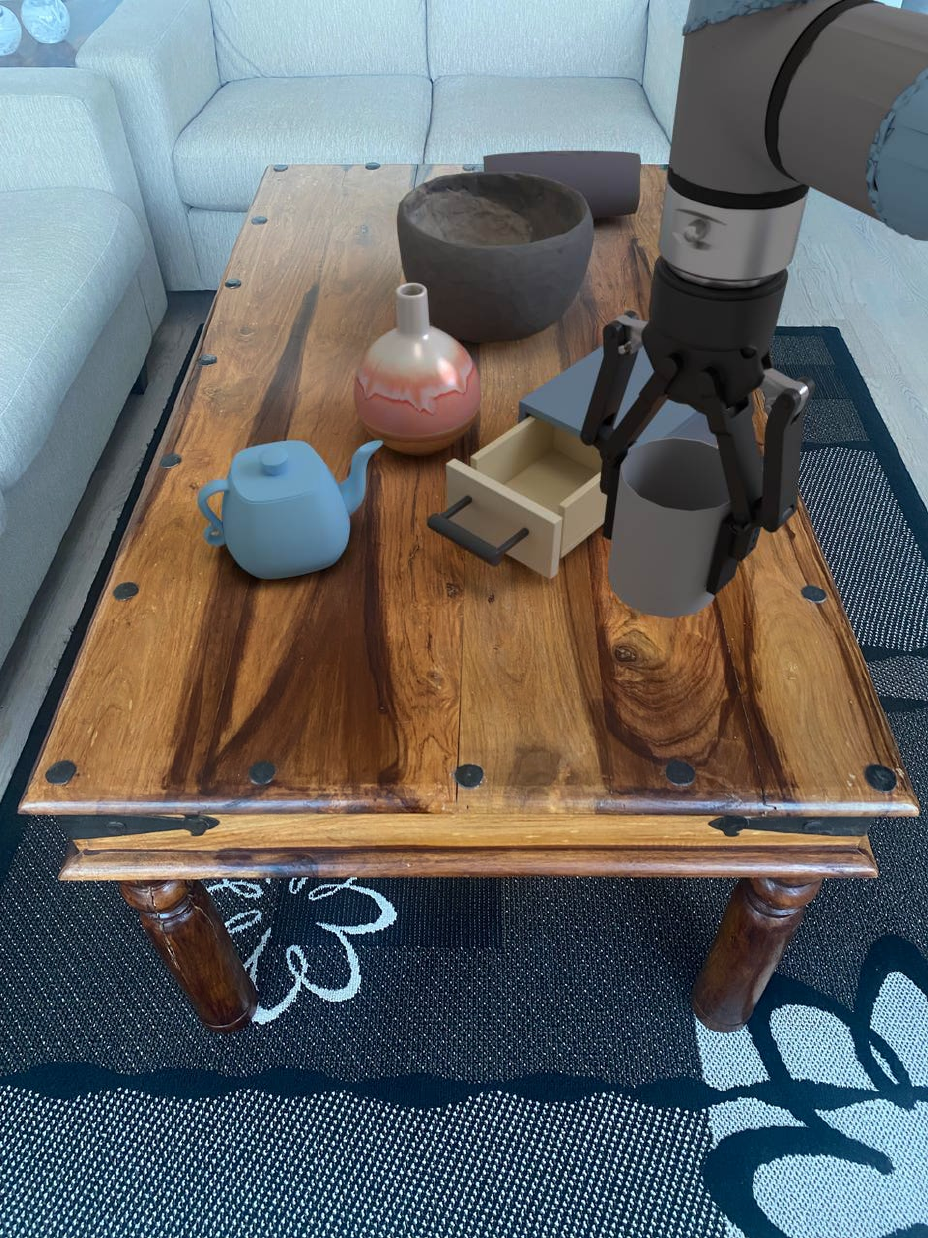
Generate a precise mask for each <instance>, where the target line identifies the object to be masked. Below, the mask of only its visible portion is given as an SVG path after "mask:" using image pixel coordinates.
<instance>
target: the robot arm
mask: <svg viewBox="0 0 928 1238" xmlns="http://www.w3.org/2000/svg"><path fill="white" fill-rule="evenodd" d="M687 11H688V12H687V15H686V20H685V23H684V24H683V25H682V29H681V30H682V31H681V32H682V33H681V36H682V37H684V38H683V45H682V51H681V61H680V69H679V75H678V76H679V77H678V85H677V92H676V101H675V108H674V109H675V110H674V116H673V117H674V118H673V125H672V133H671V141H670V149H669V158H668V166H667V174H666V179H665V187H664V195H663V203H662V210H661V218H660V227H659V234H658V240H657V250H658V253H659V256H657V258H656V260H655V262H654V266H653V273H652V281H651V288H650V296H649V302H648V318H649V320H648V321H647V320H641V319H640V316H639V315H638V313H637V312H636V311H634V310H632V309H631V310H627V311H626V312H623V314H621V315H619V316H618V317H616V318H614V319H613V320H611V321H610V322H608V323H607V324H606V325H604V327H603V328H602V345H603V352H604V357H603V360H602V363H601V366H600V370H599V373H598V376H597V380H596V383H595V386H594V390H593V393H592V396H591V400H590V403H589V406H588V410H587V413H586V416H585V420H584V423H583V426H582V430H581V433H580V439H581V441H582V443H584V444H585V445H587V446H591V445H593V446H594V447H596V448H597V449H598V450H599V452H600V457H601V459H602V468H601V477H600V479H601V480H600V490H601V493H603V494H605V495H607V502H606V510H605V519H604V523H603V529H602V538H605V539H607V540H609V541H610V542H611V539H612V531H613V523H614V515H615V507H616V499H617V491H618V484H619V476H620V468H621V464H622V463H623V461H624V459H625V458H626V456H627V454H628V449H629V448H630V447H632V446H633V445H634V444H635V443H637V442H638V441H636V440H637V439H638V438H639V436H640V435H641V434H642V432H643V431H644V430H645V428H646V427H647V426H648V424H649V423H650V422H651V421H652V419H653V418H654V417H655V415H656V414H657V413H658V411H659V410H660V409H661V407H662V406H663V405H664V404H665V402H666V401H667V400H668V399H669V400H671V401H673V402H676V403H680V404H687V405H689V406H690V407H692V408H693V409H695V410H696V411H697V412H699V413H701V414H704V415H706V417H707V422H708V426H709V430H710V432H711V433H712V434H715V436H716V439H717V444H718V445H717V447H718V448H719V453H720V457H721V461H722V466H723V470H724V475H725V479H726V484H727V488H728V493H729V497H730V502H731V506H732V510H733V512H732V513H731V514H730V515H729V516H728V517H726V518H725V519H724V520H723V521H722V525H721V529H720V533H719V537H718V541H717V546H716V550H715V554H714V558H713V563H712V567H711V571H710V575H709V579H708V584H707V588H706V592H708V593H710V594H712V595H714V596H715V597H716V596H717V595H718V594H719V593H720V591H722V590H723V588H725V587H726V586H727V584H729V583H730V582H731V581H732V579H734V578H735V576H736V573H737V569H738V565H739V563H742V562H743V561H744V560H745V559H746V558H747V557H748V556H749V555H750V554H751V553H752V552H753V551H754V550H755V549H756V547H757V545H758V544H757V543H758V540H759V537H760V533H761V530H762V529H763V530H764V531H766V532H768V533H771V534H773V533H776V532H778V531H779V529H780V528H782V526H784V524H786V523H787V521H789V520H790V519H791V518H792V516H793V515H794V514H795V513H797V510H798V499H799V485H800V484H799V483H800V470H801V455H802V439H803V427H804V413H805V411H806V409H807V407H808V405H809V403H810V401H811V399H812V396H813V394H814V392H815V390H816V383H815V381H814V380H813V379H812V378H811V377H809V376H806V375H805V376H804V375H803V376H800V377H798V378H797V379H796V380H794V379H792V378H790V377H789V376H787V375H785V374H783V373H782V372H780V371H778V370H776V369H775V368H774V361H773V358H772V354H771V346H772V345H771V344H772V341H773V338H774V335H775V332H776V328H777V326H778V325H777V324H778V320H779V317H780V314H781V313H780V312H781V308H782V305H783V301H784V297H785V293H786V288H787V284H788V281H789V271H788V269H787V268H788V266H790V265H791V264H792V262H793V260H794V257H795V254H796V249H797V245H798V241H799V236H800V232H801V226H802V222H803V217H804V213H805V209H806V204H807V200H808V195H809V191H810V189H813V190H815V191H818V192H819V193H822V194H824V195H826V196H828V197H830V198H831V199H834V200H836V201H838V202H840V203H842V204H844V205H846V206H848V207H850V208H851V209H854V210H856V211H858V212H861V214H864V215H866V216H869V217H871V218H872V219H874V220H877V221H879V222H880V223H882V224H884V225H885V226H886V227H887V228H889V229H891V230H893V231H894V232H895V233H897V234H899V235H900V236H908V237H909V238H911V239H913V240H915V241H922V242H928V14H927V13H923V12H919V11H913V10H910V9H905V8H901V7H896V6H893V5H888V4H885V3H884V2H882V1H878V0H689V5H688V10H687ZM642 346H643V347H644V349H645V351H646V354H647V356H648V359H649V361H650V363H651V366H652V368H653V370H654V373H653V374H652V376H651V377H650V378H649V380H648V381H647V383H646V384H645V385H644V387H643V388H642V390H641V391H640V392H639V394H638V395H639V397H638V398H637V399H636V401H635V402H634V404H633V405H632V406H631V408H630V409H629V411H628V412H627V413H626V415H625V416H624V418H623V419H622V420H621V422H620V423H619V425H618V426H617V427H616V429H614V428H613V427H614V424H615V421H616V418H617V415H618V412H619V409H620V406H621V403H622V400H623V397H624V394H625V391H626V388H627V385H628V382H629V379H630V376H631V373H632V370H633V367H634V364H635V361H636V358H637V355H638V351H639V349H640V348H642ZM757 389H760V390H761V391H762V393H763V395H764V406H763V408H762V409H763V412H764V413H765V414H766V415H768V416H767V419H766V423H765V427H764V441H763V442H764V443H763V444H764V445H763V464H762V460H761V455H760V454H761V453H760V450H759V445H758V439H757V435H756V434H757V433H756V430H755V426H754V421H753V420H754V419H753V418H754V414H755V410H756V409H755V402H754V396H753V392H754V391H756V390H757Z"/></svg>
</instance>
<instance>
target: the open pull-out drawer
mask: <svg viewBox="0 0 928 1238" xmlns="http://www.w3.org/2000/svg"><path fill="white" fill-rule="evenodd" d="M601 468H602V459H601V457H600V452H599V450H598V449H597V448H596V447H594V446H593V445H591V446H587V445H585V444H584V443H582V441H581V439H580V438H578V437H576V436H574V435H572V434H570V433H568V432H566V431H564V430H562V429H560V428H558V427H556V426H554V425H552V424H550V423H548V422H546V421H544V420H542V419H540V418H537V417H535V416H533V415H531V416H529V417H528V418H526V419H525V420H523V421H522V422H521V423H519V424H518V423H517V424H516V425H514V426H513V427H512V428H510V429H508V431H505V432H504V433H503V434H501V435H500V436H498V437H497V438H496V439H494V440H493V441H491V442H490V443H488V444H487V445H485V446H484V447H482V448H481V449H479V450H477V451H476V452H475V453H474V454H472V455H471V456H470V466H469V465H468V464H466V463H464V462H463V461H460V460H458V459H456V458H452V459H451V460H449V461H448V462H446V463H445V474H446V476H445V477H446V504H447V506H446V507H447V508H446V510H444V511H443V512H441V513H439V512H433V513H431V514H430V515H429V517H428V519H427V521H426V526H427V528H429V529H430V530H432V531H433V532H435V533H436V534H438V535H440V536H441V537H443V538H445V539H446V540H448V541H450V542H451V543H453V544H455V545H456V546H458V547H459V548H461V549H462V550H464V551H466V552H468V553H469V554H471V555H473V556H474V557H476V558H478V559H479V560H481V561H482V562H484V563H486V564H487V565H489V566H491V567H492V568H496V567H497V566H499V565H500V564H501V562H502V560H503V558H504V555H505V554H506V555H507V556H509V557H511V558H512V559H514V560H516V561H518V562H519V563H521V564H523V565H525V566H526V567H527V568H530V569H531V570H533V571H535V572H536V573H538V574H540V575H541V576H543V577H545V578H547V579H548V580H552V579H554V577H555V576H556V575H558V574H559V562H560V559H561V560H562V559H563V558H564V557H565V556H566V555H567V554H569V553H570V552H571V551H573V550H574V548H576V547H577V546H578V545H579V544H581V543H582V542H583V541H584V540H585V539H587V538H588V537H589V536H590V535H591V534H593V533H594V532H595V531H596V530H597V529H599V528H600V527H601V526H602V525H604V519H605V510H606V502H607V495H605V494H603V493H601V490H600V480H601V479H600V477H601Z"/></svg>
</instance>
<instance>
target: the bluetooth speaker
mask: <svg viewBox="0 0 928 1238" xmlns="http://www.w3.org/2000/svg"><path fill="white" fill-rule="evenodd" d="M482 157H483V158H482V161H483V172H521V173H525V174H533V175H538V176H541V177H545V178H549V179H553V180H555V181H558V182H560V183H562V184H565V185H567V186H569V187H571V188H573V189H575V190H577V191H578V192H580V193H581V194H582V196H583V197H584V198H585V200H586V202H587V204H588V206H589V209H590V212H591V215H592V218H593V221H594V220H596V219H600V218H601V219H602V218H603V219H604V218H613V217H622V216H623V217H624V216H630V215H635V214H636V213H637V212H638V209H639V205H640V199H641V171H642V160H641V159H642V158H641V155H640V153H638V152H630V151H618V150H616V151H615V150H613V151H612V150H541V151H519V152H506V153H503V152H502V153H495V154H488V155H483V156H482Z"/></svg>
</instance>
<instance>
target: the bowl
mask: <svg viewBox="0 0 928 1238" xmlns="http://www.w3.org/2000/svg"><path fill="white" fill-rule="evenodd" d="M594 231H595V230H594V220H593V218H592V215H591V212H590V209H589V206H588V204H587V202H586V200H585V198H584V197H583V196H582V194H581V193H580V192H578V191H577V190H575V189H573V188H571V187H569V186H567V185H565V184H562V183H560V182H558V181H555V180H553V179H549V178H545V177H541V176H538V175H533V174H525V173H521V172H484V171H474V172H462V173H455V174H445V175H440V176H436V177H434V178H433V179H430V180H428V181H426V182H423V183H420V184H419V185H418V186H416V187H415V188H413V189H412V190H410V191H409V192H407V193H406V194H405V195H404V197H403V198H402V199H401V201H400V202H399V203H398V208H397V214H396V232H397V233H396V234H397V240H398V241H397V242H398V247H399V254H400V262H401V269H402V272H403V276H404V280H405V284H406V283H418V284H421V285H423V286H424V287H425V288H426V289H427V297H428V311H429V323H430V324H432V325H433V327H435V328H437V329H439V330H441V331H443V332H445V333H447V334H448V335H450V336H451V337H453V338H454V339H458V340H461V341H464V342H465V341H466V342H472V343H476V344H497V343H507V342H517V341H521V340H524V339H527V338H530V337H532V336H535V335H537V334H540V333H541V332H543V331H545V330H547V329H548V328H549V327H551V326H552V325H553V324H555V323H556V322H557V321H558V320H561V318H562V317H563V316H564V314H565V313H566V312H567V311H568V310H569V309H570V307H571V306H572V304H573V302H574V300H575V299H576V296H577V295H578V293H579V290H580V288H581V286H582V283H583V280H584V278H585V276H586V273H587V270H588V266H589V264H590V259H591V256H592V251H593V247H594V240H595V239H594V238H595V232H594Z"/></svg>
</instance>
